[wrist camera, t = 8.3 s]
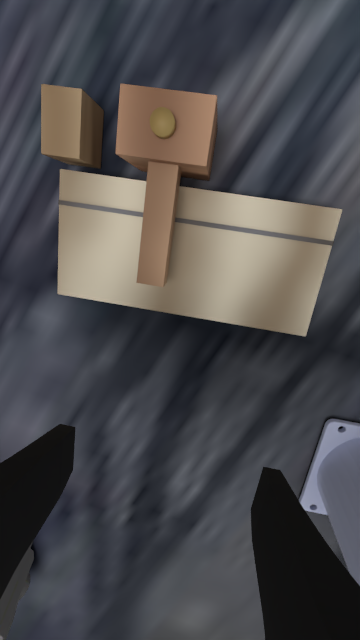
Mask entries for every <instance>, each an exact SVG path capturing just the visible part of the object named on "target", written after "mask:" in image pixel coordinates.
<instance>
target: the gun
mask: <svg viewBox="0 0 360 640" xmlns="http://www.w3.org/2000/svg"><path fill="white" fill-rule="evenodd" d="M32 543H33V542H32ZM32 543H31V545H30V547H29V548H28V550H27V551H26V553H25V555H24V556H23V558H22V560H21V561H20V563H19V565H18V567H17V568H16V570H15V572H14V574H13V576H12V578H11V580H10V581H9V583H8V585H7V587H6V589H5V591H4V593H3V595H2V597H1V599H0V640H6V638H7V635H8V632H9V630H10V627H11V624H12V622H13V619H14V615H15V612H16V608H17V604H18V601H19V600H20V599H21V598H22V597H23V596H24V594H25V593H26V591H27V589H28V587H29V584H30V574H29V570H30V568H31V565H32V563H33V560H34V551H33V550H32V549H31V546H32Z"/></svg>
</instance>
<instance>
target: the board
mask: <svg viewBox="0 0 360 640" xmlns="http://www.w3.org/2000/svg"><path fill="white" fill-rule="evenodd" d="M146 182H147V181H140V180H133V179H126V178H120V177H113V176H106V175H99V174H92V173H85V172H78V171H71V170H64V169H60V196H59V203H58V204H59V248H58V294H61V295H66V296H72V297H78V298H84V299H90V300H96V301H102V302H107V303H113V304H119V305H125V306H131V307H137V308H142V309H148V310H154V311H160V312H166V313H172V314H177V315H183V316H189V317H195V318H201V319H207V320H212V321H218V322H224V323H230V324H236V325H242V326H247V327H253V328H259V329H265V330H271V331H277V332H283V333H288V334H294V335H300V336H306V334H307V330H308V327H309V323H310V320H311V317H312V313H313V310H314V306H315V303H316V299H317V296H318V292H319V289H320V285H321V282H322V278H323V275H324V272H325V268H326V265H327V261H328V258H329V254H330V251H331V247H332V246H333V243H334V241H333V240H334V237H335V233H336V230H337V226H338V223H339V220H340V216H341V213H342V209H336V208H329V207H322V206H315V205H308V204H301V203H294V202H287V201H280V200H273V199H266V198H259V197H252V196H245V195H238V194H231V193H224V192H217V191H210V190H203V189H196V188H189V187H182V186H179V193H178V200H177V208H176V216H175V223H174V231H173V238H172V246H171V254H170V261H169V269H168V277H167V283H166V284H165V286H164V287H159V286H153V285H147V284H141V283H136V282H137V272H138V262H139V252H140V242H141V232H142V222H143V212H144V202H145V192H146Z"/></svg>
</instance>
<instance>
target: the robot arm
mask: <svg viewBox="0 0 360 640" xmlns="http://www.w3.org/2000/svg"><path fill="white" fill-rule="evenodd" d="M340 426H344V427H343V428H342V429H338V428H339V427H340ZM74 441H75V427H72V426H67V425H62V424H59V425H58V426H56V427H55V428H53V429H52V430H50V431H49V432H47V433H46V434H44V435H43V436H41V437H40V438H38V439H37V440H36V441H34V442H33V443H31V444H30V445H28V446H27V447H25V448H24V449H22V450H20V451H19V452H17V453H16V454H14V455H13V456H11V457H10V458H8V459H7V460H5V461H3V462H2V463H0V599H1V597H2V595H3V593H4V591H5V589H6V587H7V585H8V583H9V581H10V580H11V578H12V576H13V574H14V572H15V570H16V568H17V567H18V565H19V563H20V561H21V560H22V558H23V556H24V555H25V553H26V551H27V550H28V548H29V547H30V545H31V543H32V542H33V540H34V538H35V537H36V535H37V534H38V532H39V530H40V529H41V527H42V526H43V524H44V522H45V521H46V519H47V517H48V516H49V514H50V513H51V511H52V509H53V508H54V506H55V504H56V503H57V501H58V499H59V498H60V496H61V494H62V492H63V490H64V488H65V486H66V484H67V481H68V479H69V477H70V475H71V473H72V471H73V459H74ZM305 511H310V512H315V513H320V514H325V515H328V517H329V520H330V522H331V525H332V528H333V530H334V533H335V536H336V538H337V541H338V544H339V546H340V549H341V552H342V554H343V557H344V560H345V562H346V565H347V568H348V570H349V572H348V571H347V570H346V568H345V567H344V566H343V564H342V563H341V562H340V561H339V559H338V558H337V557H336V555H335V554H334V553H333V551H332V550H331V548H330V547H329V546H328V544H327V543H326V541H325V540H324V539H323V537H322V536H321V534H320V533H319V531H318V530H317V528H316V527H315V525H314V524H313V522H312V521H311V519H310V518H309V516H308V515H307V513H306V512H305ZM251 526H252V542H253V550H254V557H255V564H256V571H257V578H258V585H259V592H260V599H261V606H262V612H263V620H264V629H265V640H360V423H355V422H349V421H344V420H339V419H329V420H328V421H326V423H325V425H324V428H323V431H322V434H321V437H320V440H319V443H318V446H317V449H316V452H315V455H314V458H313V460H312V463H311V466H310V469H309V472H308V475H307V478H306V481H305V484H304V487H303V490H302V493H301V496H300V498H299V500H298V499H297V497H296V495H295V494H294V492H293V491H292V489H291V487H290V486H289V484H288V482H287V481H286V479H285V477H284V476H283V474H282V472H281V471H280V470H276V469H271V468H267V467H263V470H262V473H261V477H260V480H259V484H258V487H257V490H256V494H255V497H254V500H253V504H252V507H251Z"/></svg>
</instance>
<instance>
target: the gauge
mask: <svg viewBox="0 0 360 640" xmlns="http://www.w3.org/2000/svg"><path fill="white" fill-rule="evenodd" d="M216 135H217V95H208V94H200V93H192V92H184V91H176V90H168V89H160V88H152V87H144V86H136V85H128V84H120V97H119V112H118V126H117V141H116V154H117V155H118V156H120V157H121V158H123V159H124V160H126V161H127V162H129V163H130V164H132V165H133V166H135V167H136V168H138V169H139V170H141V171H144V172H147V182H146V192H145V202H144V212H143V222H142V232H141V242H140V252H139V262H138V272H137V282H136V283H141V284H147V285H153V286H159V287H164V286H165V284H166V283H167V277H168V269H169V261H170V254H171V246H172V238H173V231H174V223H175V216H176V208H177V200H178V193H179V185H180V177H186V178H193V179H200V180H207V181H209V179H210V173H211V167H212V160H213V154H214V148H215V141H216Z"/></svg>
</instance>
